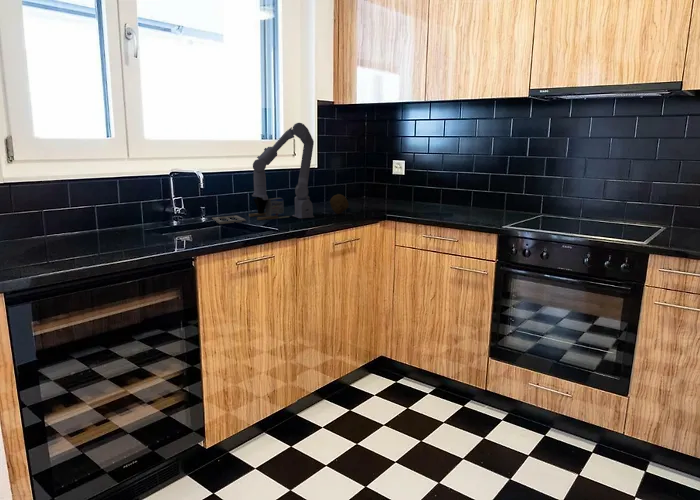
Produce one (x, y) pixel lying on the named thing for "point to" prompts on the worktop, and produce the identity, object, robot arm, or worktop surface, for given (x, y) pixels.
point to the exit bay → (284, 217)
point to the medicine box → (275, 207)
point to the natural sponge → (339, 203)
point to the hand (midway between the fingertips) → (261, 213)
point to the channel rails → (262, 217)
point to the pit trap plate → (228, 219)
